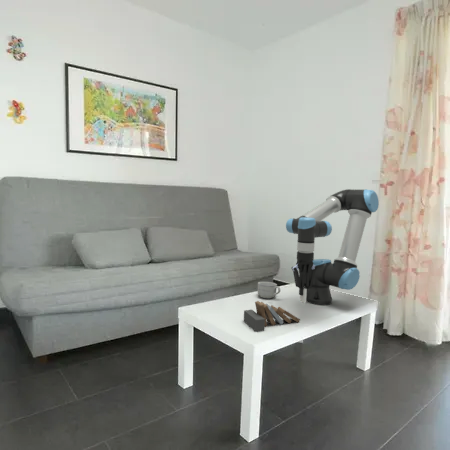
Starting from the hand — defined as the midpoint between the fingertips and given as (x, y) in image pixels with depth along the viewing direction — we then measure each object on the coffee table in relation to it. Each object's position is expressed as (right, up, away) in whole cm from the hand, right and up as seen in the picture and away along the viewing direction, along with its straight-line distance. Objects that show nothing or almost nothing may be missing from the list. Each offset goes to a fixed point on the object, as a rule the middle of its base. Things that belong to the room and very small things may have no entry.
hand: (303, 301), depth 155 cm
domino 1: (-19, -8, -7) cm, 22 cm away
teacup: (-12, -5, +32) cm, 35 cm away
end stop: (-24, -8, -9) cm, 27 cm away
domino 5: (-3, -8, -1) cm, 9 cm away
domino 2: (-15, -8, -6) cm, 18 cm away
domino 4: (-8, -8, -3) cm, 11 cm away
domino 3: (-11, -8, -4) cm, 15 cm away
